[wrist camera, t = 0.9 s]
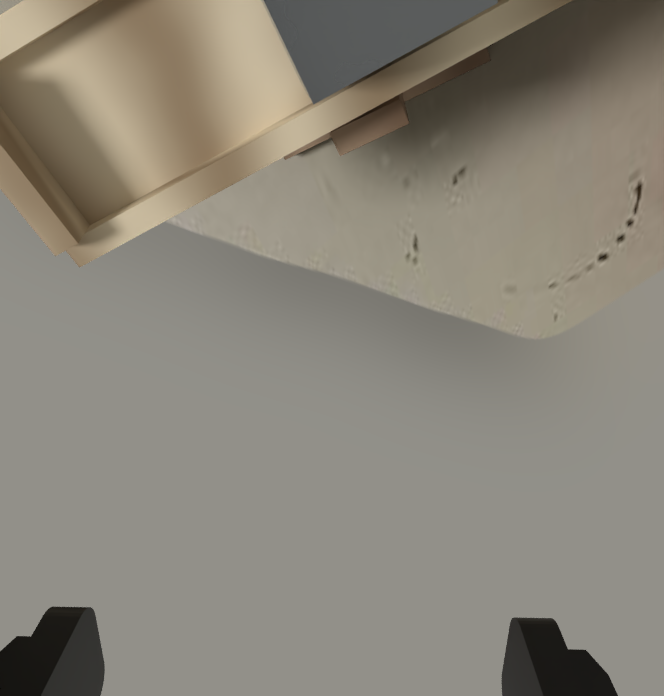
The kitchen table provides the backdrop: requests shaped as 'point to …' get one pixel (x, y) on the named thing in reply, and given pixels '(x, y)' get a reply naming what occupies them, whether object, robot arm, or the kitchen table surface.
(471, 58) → the stand
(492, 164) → the kitchen table surface
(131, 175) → the beam
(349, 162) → the kitchen table surface
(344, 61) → the block
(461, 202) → the kitchen table surface
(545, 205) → the kitchen table surface
